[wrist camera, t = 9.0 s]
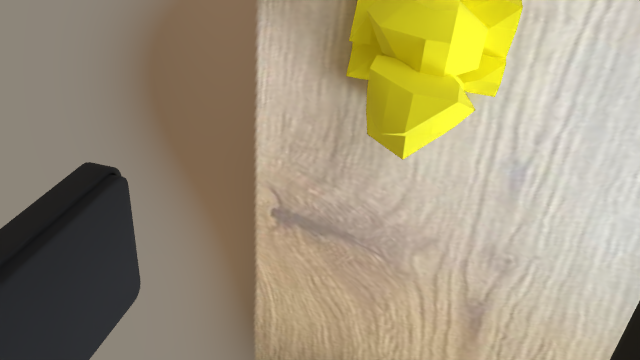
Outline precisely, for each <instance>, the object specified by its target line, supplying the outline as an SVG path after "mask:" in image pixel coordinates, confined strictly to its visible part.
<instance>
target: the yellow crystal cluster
mask: <svg viewBox="0 0 640 360" xmlns="http://www.w3.org/2000/svg"><path fill="white" fill-rule="evenodd" d="M522 8H523V5H522V0H358V1H357V6H356V10H355V15H354V20H353V24H352V29H351V34H350V39H349V41H352V42H353V44H352V52H351V56H350V61H349V65H348V69H347V74H346V76H348V77H354V78H359V79H365V80H368V86H367V104H366V116H367V134H368V135H369V136H371V137H372V138H373V139H375V140H376V141H378V142H379V143H380V144H382V145H383V146H384V147H386V148H387V149H389V150H390V151H391V152H393V153H394V154H395V155H397V156H398V157H400V158H401V159H402V160H403V159H404V158H406V157H408V156H409V155H411V154H412V153H414V152H416V151H417V150H419V149H420V148H422V147H423V146H425V145H427V144H428V143H430V142H431V141H433V140H435V139H436V138H438V137H439V136H441V135H443V134H444V133H446V132H447V131H449V130H451V129H452V128H454V127H455V126H456V125H457V124H459V123H460V122H461V121H462V120H464V119H465V118H466V117H467V116H469V115H470V114H471V113H472V112H474V111H475V108H474V107H473V105H472V103H471V102H470V100H469V98H468V97H467V95H466V93H465V92H471V93H476V94H482V95H487V96H493V97H495V95H496V93H497V91H498V88H499V86H500V84H501V80H502V77H503V73H504V69H505V66H506V56H507V53H508V51H509V48H510V46H511V43H512V40H513V38H514V35H515V32H516V30H517V26H518V23H519V19H520V15H521V12H522ZM464 91H465V92H464Z"/></svg>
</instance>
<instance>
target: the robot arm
mask: <svg viewBox="0 0 640 360" xmlns="http://www.w3.org/2000/svg"><path fill="white" fill-rule="evenodd" d="M139 289H140V275H139V268H138V259H137V252H136V243H135V235H134V227H133V219H132V212H131V204H130V195H129V188H128V182H127V180H126V178H124V177H121V174H120V172H119V170H118V169H117V168H114V167H110V166H105V165H100V164H95V163H90V162H89V163H84V164H83V165H81V166H80V167H78V168H77V169H76V170H75V171H73V172H72V173H71V174H70V175H68V176H67V177H66V178H65V179H63V180H62V181H61V182H59V183H58V184H57V185H56V186H54V187H53V188H52V189H51V190H49V191H48V192H47V193H45V194H44V195H43V196H42V197H40V198H39V199H38V200H37V201H35V202H34V203H33V204H31V205H30V206H29V207H28V208H26V209H25V210H24V211H23V212H21V213H20V214H19V215H18V216H16V217H15V218H14V219H13V220H11V221H10V222H9V223H7V224H6V225H5V226H4V227H2V228H1V229H0V360H89V359H90V358H91V357H92V355H93V354H94V352H95V351H96V350H97V349H98V348H99V346H100V345H101V343H102V342H103V341H104V340H105V339H106V337H107V336H108V335H109V333H110V332H111V331H112V330H113V328H114V327H115V326H116V324H117V323H118V322H119V320H120V319H121V318H122V317H123V315H124V314H125V313H126V311H127V310H128V309H129V308H130V306H131V305H132V304H133V302H134V301H135V299H136V298H137V296H138V293H139ZM610 360H640V301H639V303H638V305H637V307H636V309H635V311H634V313H633V315H632V317H631V319H630V321H629V323H628V325H627V327H626V329H625V331H624V333H623V335H622V337H621V339H620V341H619V343H618V345H617V347H616V349H615V351H614V353H613V355H612V357H611V359H610Z"/></svg>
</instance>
